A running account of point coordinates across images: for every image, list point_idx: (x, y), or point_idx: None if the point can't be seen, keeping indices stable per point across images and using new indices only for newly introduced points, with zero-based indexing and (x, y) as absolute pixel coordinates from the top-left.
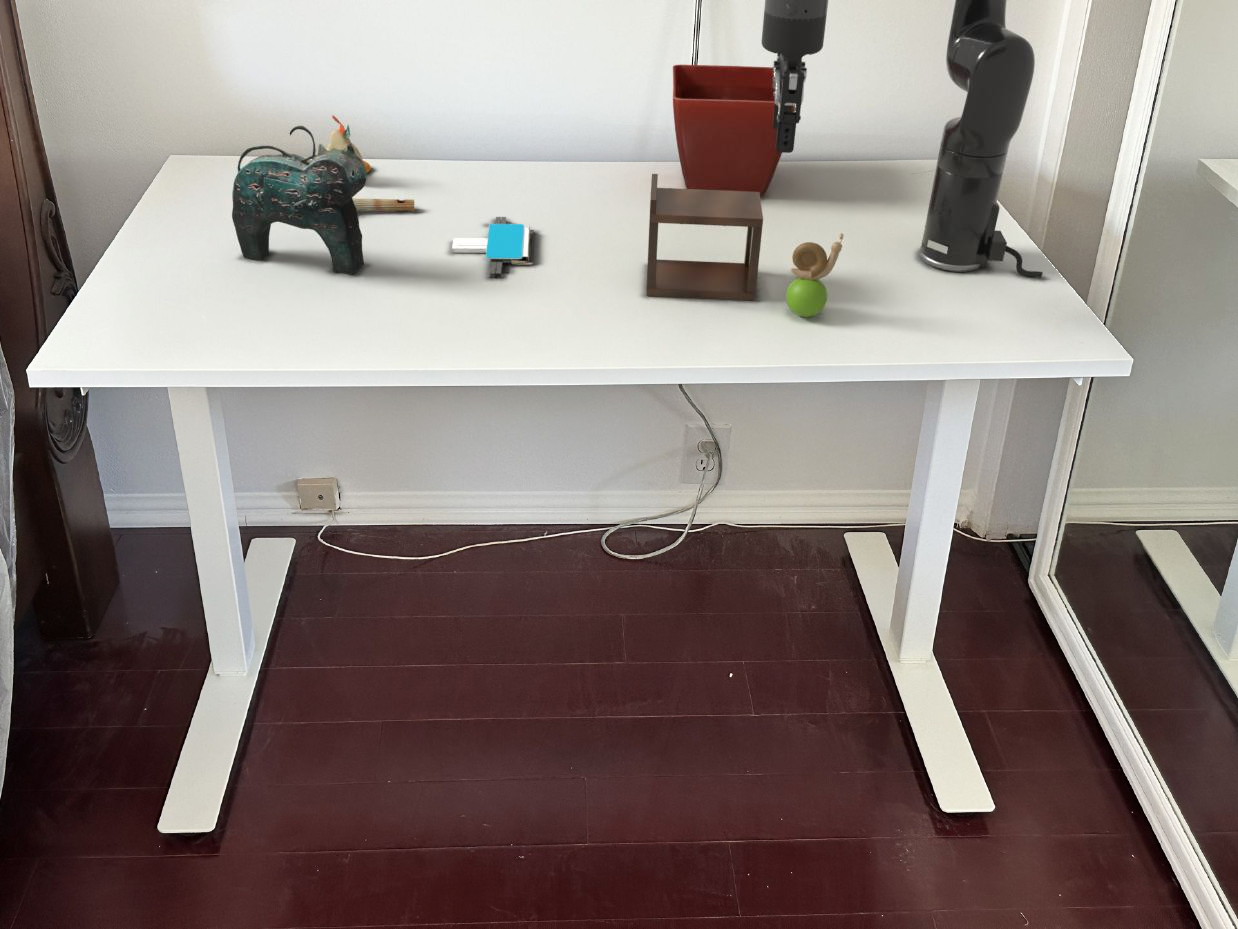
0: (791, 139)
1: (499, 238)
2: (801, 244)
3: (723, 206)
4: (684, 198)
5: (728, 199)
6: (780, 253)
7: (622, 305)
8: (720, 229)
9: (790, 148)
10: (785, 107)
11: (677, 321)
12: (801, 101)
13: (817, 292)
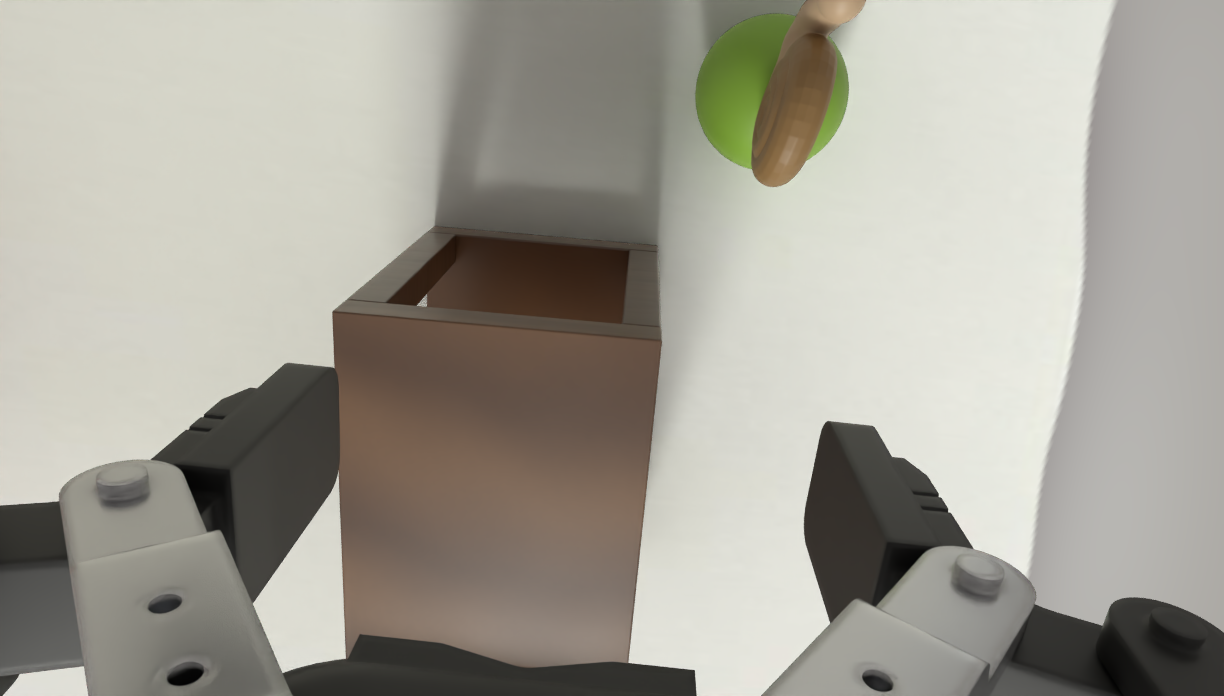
0: (944, 507)
1: None
2: (788, 162)
3: (526, 487)
4: (450, 621)
5: (443, 457)
6: (273, 98)
7: (683, 608)
8: (107, 289)
9: (909, 465)
10: (259, 496)
11: (785, 482)
12: (988, 671)
13: (838, 68)
